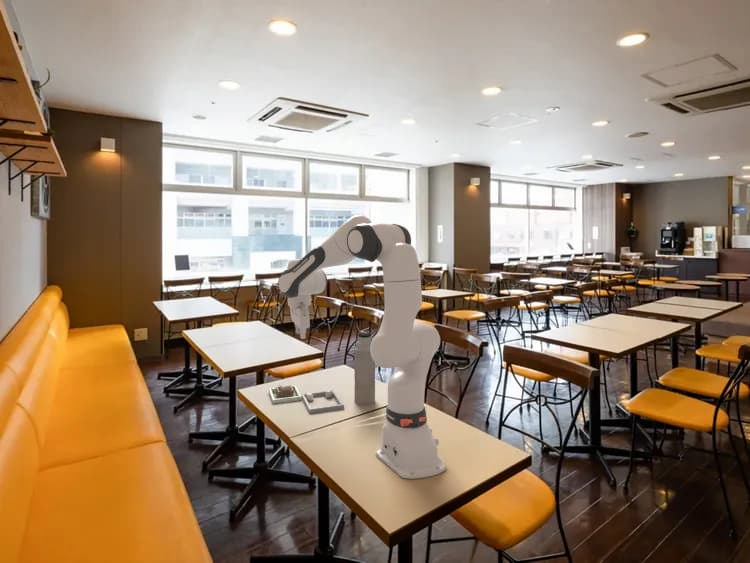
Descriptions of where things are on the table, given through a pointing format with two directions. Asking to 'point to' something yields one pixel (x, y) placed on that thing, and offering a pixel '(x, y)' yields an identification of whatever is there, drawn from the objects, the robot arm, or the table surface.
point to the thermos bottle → (364, 371)
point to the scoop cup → (284, 393)
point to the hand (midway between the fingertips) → (300, 336)
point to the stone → (284, 387)
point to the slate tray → (326, 408)
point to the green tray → (288, 399)
